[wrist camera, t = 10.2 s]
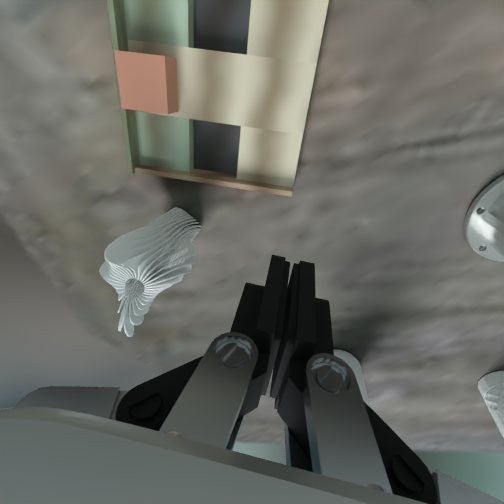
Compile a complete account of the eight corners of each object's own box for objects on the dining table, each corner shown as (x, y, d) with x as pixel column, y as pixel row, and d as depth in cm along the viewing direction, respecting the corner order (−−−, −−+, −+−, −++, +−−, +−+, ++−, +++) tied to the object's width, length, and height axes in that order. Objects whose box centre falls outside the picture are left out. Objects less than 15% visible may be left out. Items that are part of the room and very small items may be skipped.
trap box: (332, -23, 26) (337, -38, 23) (292, 187, 36) (291, 198, 33) (123, -46, 27) (98, -64, 24) (143, 164, 38) (128, 172, 34)
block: (176, 58, 29) (164, 56, 27) (178, 111, 32) (167, 114, 29) (129, 52, 29) (114, 50, 27) (135, 106, 32) (121, 108, 30)
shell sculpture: (172, 185, 39) (91, 253, 23) (219, 223, 41) (173, 309, 25) (144, 224, 43) (59, 304, 27) (188, 257, 45) (132, 349, 29)
